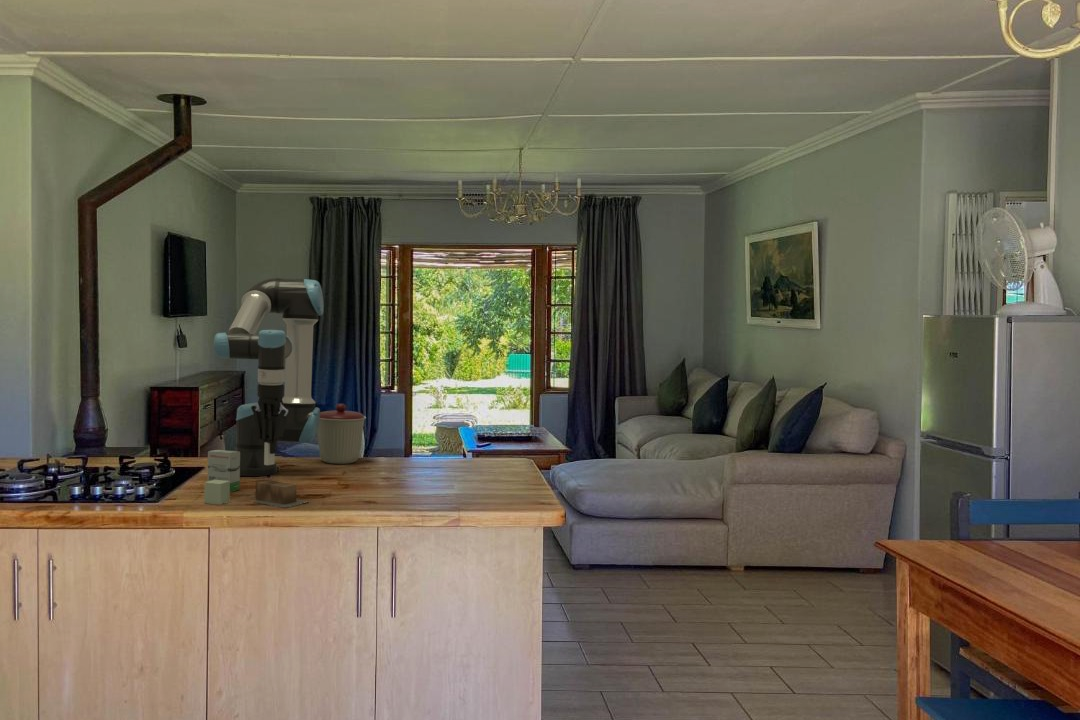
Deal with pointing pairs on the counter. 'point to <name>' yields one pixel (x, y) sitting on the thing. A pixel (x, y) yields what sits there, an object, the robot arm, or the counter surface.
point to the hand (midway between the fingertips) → (269, 464)
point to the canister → (340, 435)
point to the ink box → (224, 467)
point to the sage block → (217, 492)
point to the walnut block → (276, 492)
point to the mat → (280, 504)
